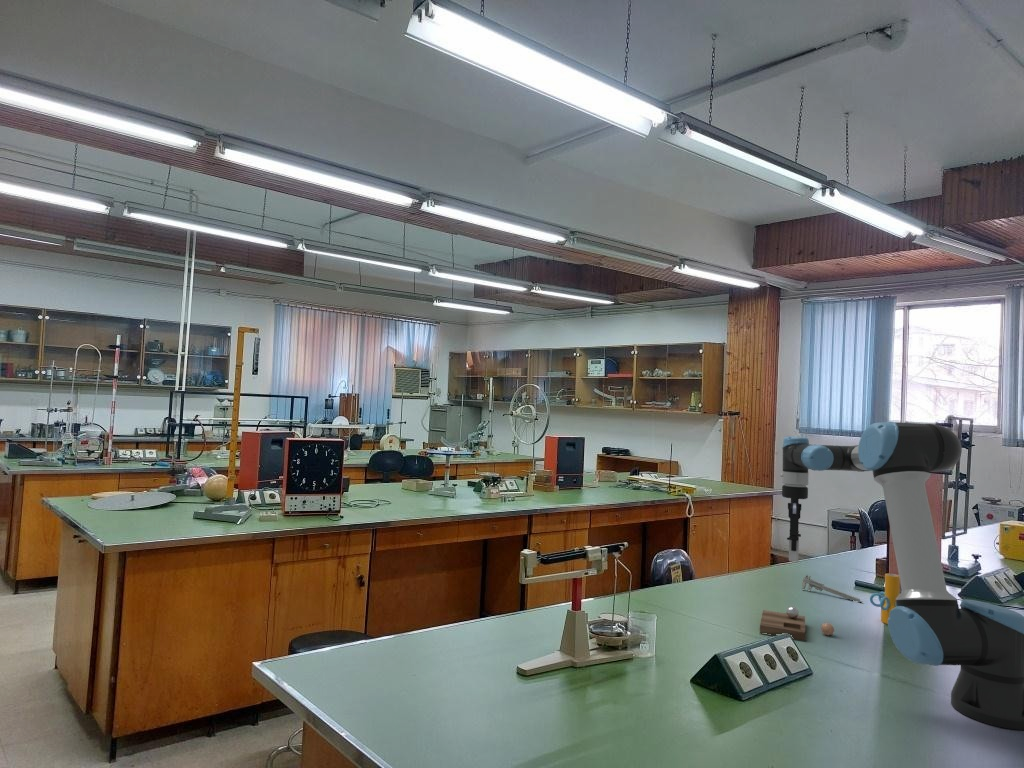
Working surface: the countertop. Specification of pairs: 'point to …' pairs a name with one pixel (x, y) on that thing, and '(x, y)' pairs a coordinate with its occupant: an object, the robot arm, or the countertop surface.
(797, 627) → the hole plate
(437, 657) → the countertop surface
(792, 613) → the steel ball
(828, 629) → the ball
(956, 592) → the countertop surface
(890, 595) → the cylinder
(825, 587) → the caliper
